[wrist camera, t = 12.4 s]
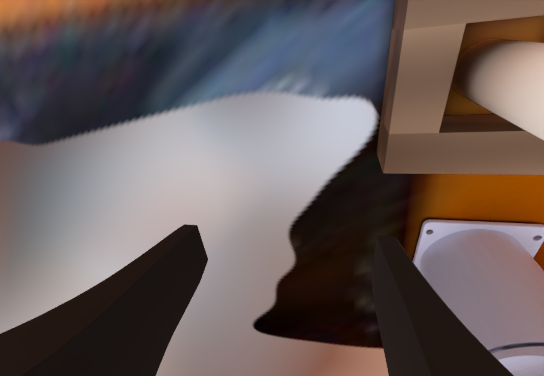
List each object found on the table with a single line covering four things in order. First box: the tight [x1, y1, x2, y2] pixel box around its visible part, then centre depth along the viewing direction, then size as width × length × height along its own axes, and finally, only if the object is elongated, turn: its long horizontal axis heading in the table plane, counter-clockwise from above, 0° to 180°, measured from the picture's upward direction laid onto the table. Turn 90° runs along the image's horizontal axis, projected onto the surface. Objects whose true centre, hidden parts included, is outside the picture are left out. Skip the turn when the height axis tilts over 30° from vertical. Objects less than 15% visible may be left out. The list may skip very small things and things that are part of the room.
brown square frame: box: [377, 0, 544, 175], centre depth 13 cm, size 10×10×3 cm
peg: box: [451, 39, 544, 140], centre depth 11 cm, size 3×3×9 cm
